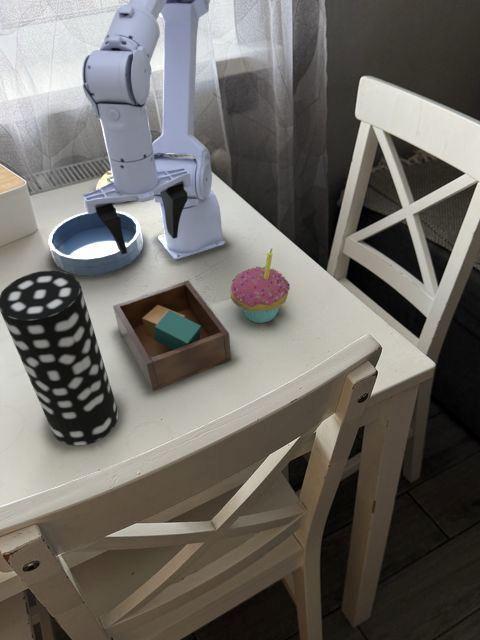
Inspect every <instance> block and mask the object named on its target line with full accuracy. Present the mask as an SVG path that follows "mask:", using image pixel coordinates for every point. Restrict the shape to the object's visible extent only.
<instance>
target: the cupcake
mask: <svg viewBox="0 0 480 640" xmlns="http://www.w3.org/2000/svg"><path fill="white" fill-rule="evenodd" d="M266 255H267V256H266V261H265V266H264V267H261V266H255V267H250V268H247V269H245V270H242V271H241V272H239V273H238V274H237V275H235V277H234V278H233V279H232V280H231V281H232V282H231V285H230V299H231V301H232V302H233V303H234V304H235V305H236V306H238V307H239V308H241V309H242V311H243V313H244V315H245V317H246V318H247V319H248V320H249V321H251V322H254V323H261V324H263V323H268V322H270V321H272V320H274V319H275V318H276V316H277V314H278V311H279V309H280V307H281V306H282V305H284V304H285V303H286V302H287V299H288V296H289V291H290V288H291V285H290V283H289V281H288V280H287V279H286V276H284V275H283V274H282V273H280V272H279V271H277V270H275V269H274V268H271V266H272V259H273V247H271V248H270V251H267V254H266Z"/></svg>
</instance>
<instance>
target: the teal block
mask: <svg viewBox="0 0 480 640" xmlns="http://www.w3.org/2000/svg"><path fill="white" fill-rule="evenodd" d="M200 331H201V326H200V325H198V324H196V323H194V322H192V321H190V320H188V319H186V318H184V317H182V316H180V315H178V314H176V313H174V312H173V311H171V310H169V311H168V312H167V313H166V314H165V315H164V317H163V318H162V319H161V320H160V321H159V323H158V324H157V325H156V326H155V340H156V341H157V342H159V343H161V344H163V345H165V346H167V347H169V348H171V349H173V350H175V349H177V348H180V347H183V346H185V345H188V344H191V343H193V342H196V341H199V340H200Z"/></svg>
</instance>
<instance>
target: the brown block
mask: <svg viewBox="0 0 480 640" xmlns="http://www.w3.org/2000/svg"><path fill="white" fill-rule="evenodd" d="M169 310H170V309H167V308H165V307H162V306H160V305H157V306H156V307H155V308H153V309H152V310H151V311H150V312H149V313H148V314H146V315H145V316H144V317H143V318H142V320H143V324H144V329H145V333H146V334H147V335H149V336H152V337H154V338H155V326H156V325H157V324H158V323H159V321H160V320H161V319H162V318H163V317H164V315H165V314H166V313H167V312H168V311H169ZM171 311H172V310H171ZM173 312H174V313H176V314H178V315H180V316H182V317H184V318H185V315H182V314H180V313H177V312H175V311H173Z"/></svg>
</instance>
